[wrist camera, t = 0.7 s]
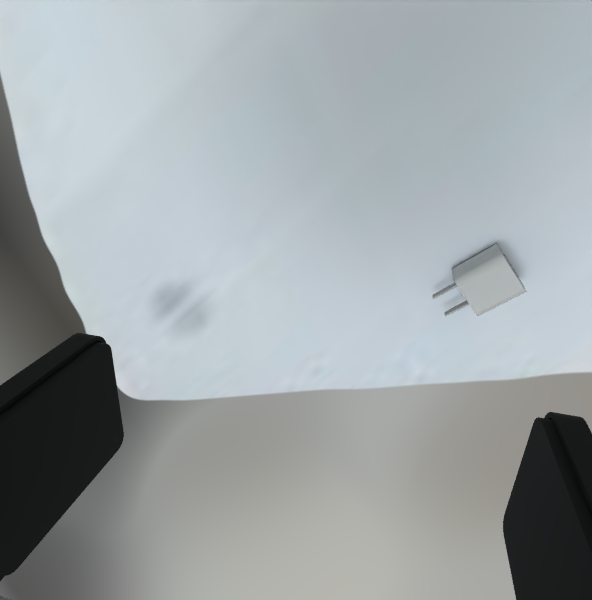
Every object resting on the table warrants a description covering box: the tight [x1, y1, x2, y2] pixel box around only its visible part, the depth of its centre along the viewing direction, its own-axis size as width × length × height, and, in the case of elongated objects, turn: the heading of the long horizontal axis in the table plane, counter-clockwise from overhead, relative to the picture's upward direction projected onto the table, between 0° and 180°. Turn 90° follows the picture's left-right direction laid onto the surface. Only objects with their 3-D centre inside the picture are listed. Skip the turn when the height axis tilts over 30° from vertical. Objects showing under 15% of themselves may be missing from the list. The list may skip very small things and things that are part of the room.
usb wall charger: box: [433, 244, 526, 316], centre depth 41 cm, size 4×7×4 cm, turn 129°
